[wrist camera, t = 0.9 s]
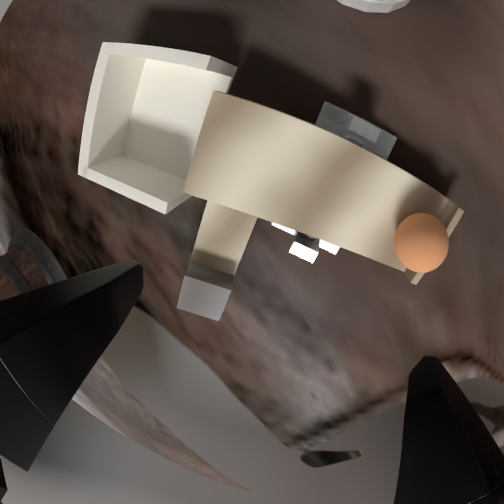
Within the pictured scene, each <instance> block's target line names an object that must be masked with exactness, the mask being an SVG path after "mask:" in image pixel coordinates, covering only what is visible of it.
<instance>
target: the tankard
mask: <svg viewBox="0 0 504 504" xmlns="http://www.w3.org/2000/svg"><path fill="white" fill-rule="evenodd" d="M65 279H67V277H66V275H65V274H64V272H63V270H62V268H61V266H60V265H59V263H58V261H57V260H56V258H55V257H54V255H53V254H52V252H51V251H50V250H49V248H48V247H47V246H46V244H45V243H44V242H43V241H42V240H41V239H40V238H39V237H38V236H37V235H36V234H35V233H34V232H32V231H30V230H29V229H27V228H23V227H21V228H18V229H16V230H15V232H14V234H13V237H12V240H11V242H10V244H9V246H8V252H7V253H5V254H4V255H3V256H0V300H4V299H7V298H10V297H13V296H16V295H19V294H22V293H25V292H30V291H31V290H34V289H37V288H41V287H44V286H47V285H50V284H53V283H56V282H59V281H62V280H65Z"/></svg>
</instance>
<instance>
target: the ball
mask: <svg viewBox="0 0 504 504" xmlns="http://www.w3.org/2000/svg"><path fill="white" fill-rule="evenodd" d="M394 246H395V251H396V254H397V257H398V259H399V260H400V262H401V263H402V264H403V265H404V266H405V267H406V268H408V269H410V270H412V271H414V272H419V273H425V272H429V271H432V270H434V269H436V268H437V267H438V266H439V265H440V264H441V263H442V262H443V261H444V259H445V257H446V255H447V252H448V248H449V239H448V234H447V231H446V229H445V227H444V225H443V224H442V223H441V221H440V220H439V219H437V218H436V217H434V216H433V215H430V214H427V213H415V214H412V215H410V216H408V217H407V218H405V219H404V220H403V221H402V222H401V223H400V225H399V226H398V228H397V231H396V233H395V239H394Z"/></svg>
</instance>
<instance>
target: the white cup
mask: <svg viewBox="0 0 504 504" xmlns="http://www.w3.org/2000/svg"><path fill="white" fill-rule="evenodd" d="M337 1H338V2H340V3H341V4H343V5H346V6H349V7H352V8H355V9H358V10H361V11H363V12H378V13H389V12H391V11H394V10H397V9H399V8H402V7H404V6H406V5H407V4H408V3H409V1H410V0H337Z"/></svg>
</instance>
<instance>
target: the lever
mask: <svg viewBox="0 0 504 504" xmlns="http://www.w3.org/2000/svg"><path fill="white" fill-rule="evenodd" d="M362 146H363V144H362V143H360V142H358V141H356V140H354V139H352V138H350V139H349V140H347V139H345V138H343V137H341V136H338V135H336V134H334V133H332V132H330V131H327V130H325V129H323V128H321V127H318V126H316V125H314V124H311V123H309V122H307V121H304V120H302V119H299V118H297V117H294V116H292V115H289V114H286V113H284V112H281V111H278V110H276V109H273V108H270V107H267V106H264V105H262V104H259V103H256V102H253V101H250V100H247V99H243V98H240V97H237V96H234V95H230V94H227V93H224V92H220V91H213V94H212V97H211V99H210V102H209V105H208V108H207V112H206V115H205V118H204V121H203V124H202V127H201V130H200V134H199V137H198V140H197V144H196V147H195V150H194V154H193V157H192V161H191V164H190V168H189V172H188V175H187V179H186V183H185V187H184V191H183V193H186V194H189V195H193V196H196V197H199V198H202V199H205V200H208V201H207V204H206V208H205V211H204V214H203V218H202V221H201V225H200V228H199V232H198V235H197V239H196V242H195V246H194V250H193V253H192V257H191V261H190V263H189V266H188V268H187V271H186V273H185V276H184V280H183V284H182V288H181V292H180V296H179V300H178V305H177V308H179V309H182V310H185V311H188V312H191V313H194V314H197V315H200V316H204V317H207V318H210V319H213V320H217V321H219V320H220V317H221V315H222V312H223V310H224V307H225V305H226V302H227V300H228V298H229V295H230V293H231V290H232V284H233V279H234V275H235V272H236V270H237V267H238V265H239V262H240V260H241V257H242V255H243V252H244V250H245V247H246V245H247V242H248V240H249V237H250V235H251V232H252V230H253V227H254V225H255V222H256V220H257V217H259V218H262V219H265V220H267V221H270V222H273V223H276V224H279V225H282V226H285V227H287V228H290V229H293V230H296V231H299V232H301V233H304V234H305V235H306V236H307V237H309V238H311V239H316V238H318V239H320V240H323V241H326V242H329V243H331V244H334V245H337V246H339V247H342V248H345V249H347V250H350V251H352V252H355V253H358V254H360V255H363V256H365V257H368V258H371V259H373V260H376V261H378V262H381V263H383V264H386V265H388V266H391V267H393V268H396V269H398V270H401V271H403V272H405V274H406V276H407V278H408V279H409V281H410V283H413V284H415V285H416V284H417V283H418V281H419V280H420V279H421V277H422V276H423V275H424V273H419V272H414V271H412V270H410V269H408V268H406V267H405V266H404V265H403V264H402V263H401V262H400V260H399V259H398V257H397V254H396V251H395V246H394V239H395V233H396V231H397V228H398V226H399V225H400V223H401V222H402V221H403V220H404V219H405V218H407V217H408V216H410V215H412V214H415V213H427V214H430V215H433V216H434V217H436V218H437V219H439V220H440V221H441V223H442V224H443V225H444V227H445V229H446V231H447V234H448V238H449V236H450V234H451V233H452V231H453V230H454V228H455V226H456V225H457V223H458V221H459V220H460V218H461V216H462V214H463V213H464V211H463V210H462V209H461V208H459V207H458V206H457V205H456V204H455V203H453V202H452V201H451V200H450V199H449V198H447V197H446V196H444V195H443V194H441V193H440V192H438V191H437V190H435V189H434V188H432V187H431V186H429V185H428V184H426V183H425V182H423V181H421V180H420V179H418V178H417V177H415V176H413V175H412V174H410V173H408V172H407V171H405V170H403V169H402V168H400V167H398V166H396V165H395V164H393V163H391V162H389V161H388V160H386V159H384V158H382V157H380V156H378V155H377V154H375V153H373V152H371V151H369V150H367V149H365V148H363V147H362Z"/></svg>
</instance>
